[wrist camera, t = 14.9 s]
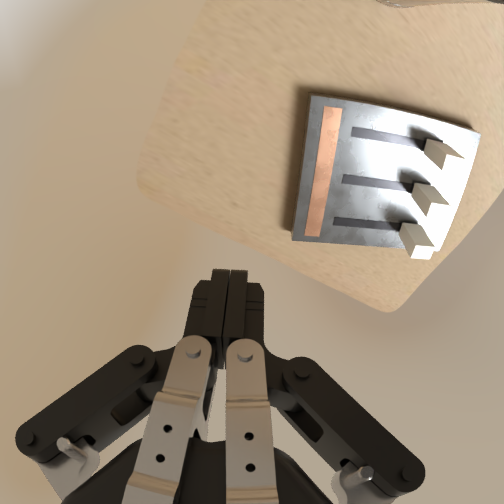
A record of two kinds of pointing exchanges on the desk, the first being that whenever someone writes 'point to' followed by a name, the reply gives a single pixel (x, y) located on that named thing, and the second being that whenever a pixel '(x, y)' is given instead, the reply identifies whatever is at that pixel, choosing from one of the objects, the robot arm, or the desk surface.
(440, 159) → the switch
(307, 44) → the desk surface
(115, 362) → the robot arm
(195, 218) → the desk surface
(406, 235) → the switch
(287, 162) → the desk surface
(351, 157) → the switch panel
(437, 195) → the switch middle
